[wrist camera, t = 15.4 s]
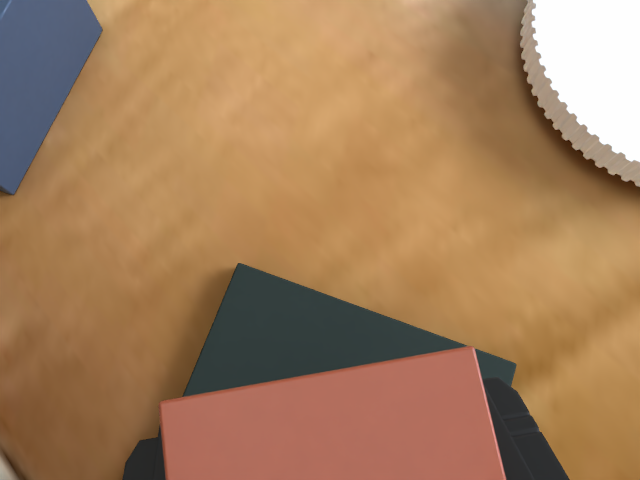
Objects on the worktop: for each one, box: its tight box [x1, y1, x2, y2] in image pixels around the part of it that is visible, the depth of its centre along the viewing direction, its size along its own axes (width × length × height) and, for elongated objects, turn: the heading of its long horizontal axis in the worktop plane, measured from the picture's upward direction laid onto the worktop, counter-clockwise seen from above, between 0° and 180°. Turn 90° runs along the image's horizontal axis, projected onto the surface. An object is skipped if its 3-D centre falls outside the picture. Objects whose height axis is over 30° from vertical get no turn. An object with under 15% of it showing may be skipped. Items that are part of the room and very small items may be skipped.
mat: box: [182, 263, 516, 397], centre depth 23 cm, size 12×12×1 cm
